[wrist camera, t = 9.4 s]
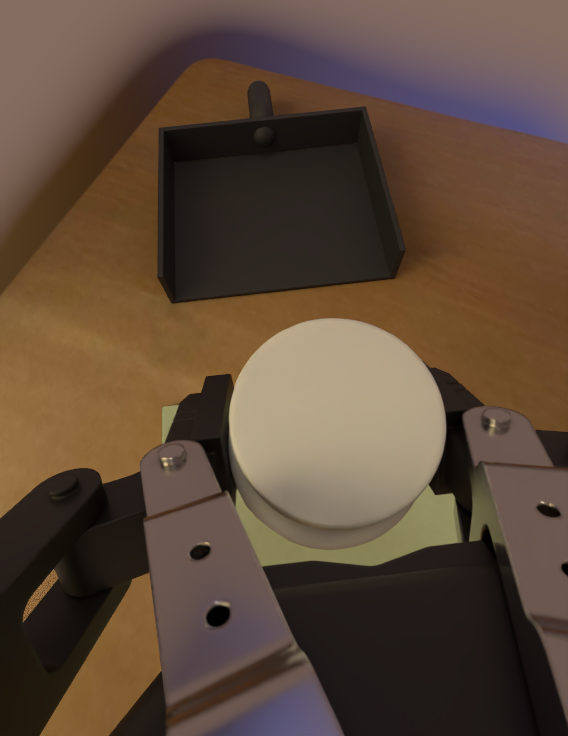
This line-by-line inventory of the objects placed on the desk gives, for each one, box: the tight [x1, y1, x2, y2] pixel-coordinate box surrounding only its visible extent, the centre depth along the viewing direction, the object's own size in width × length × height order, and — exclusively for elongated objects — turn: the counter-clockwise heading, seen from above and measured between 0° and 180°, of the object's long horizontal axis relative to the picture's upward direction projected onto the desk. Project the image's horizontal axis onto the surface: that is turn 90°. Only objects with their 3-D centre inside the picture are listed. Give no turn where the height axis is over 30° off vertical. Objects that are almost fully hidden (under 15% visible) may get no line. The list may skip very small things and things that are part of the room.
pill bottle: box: [228, 318, 446, 550], centre depth 11 cm, size 5×5×8 cm
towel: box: [162, 405, 458, 566], centre depth 22 cm, size 28×18×1 cm, turn 6°
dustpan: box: [157, 81, 406, 303], centre depth 32 cm, size 20×17×3 cm
